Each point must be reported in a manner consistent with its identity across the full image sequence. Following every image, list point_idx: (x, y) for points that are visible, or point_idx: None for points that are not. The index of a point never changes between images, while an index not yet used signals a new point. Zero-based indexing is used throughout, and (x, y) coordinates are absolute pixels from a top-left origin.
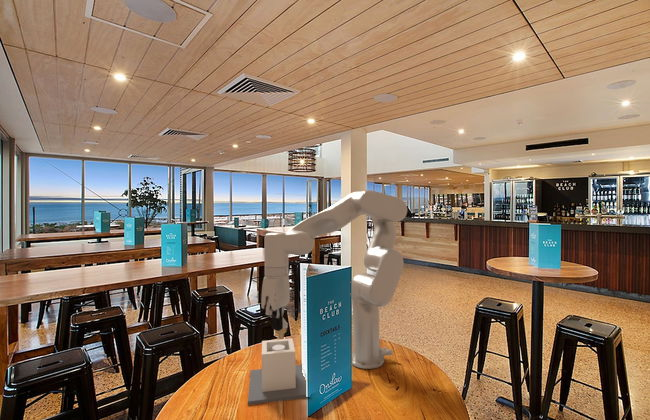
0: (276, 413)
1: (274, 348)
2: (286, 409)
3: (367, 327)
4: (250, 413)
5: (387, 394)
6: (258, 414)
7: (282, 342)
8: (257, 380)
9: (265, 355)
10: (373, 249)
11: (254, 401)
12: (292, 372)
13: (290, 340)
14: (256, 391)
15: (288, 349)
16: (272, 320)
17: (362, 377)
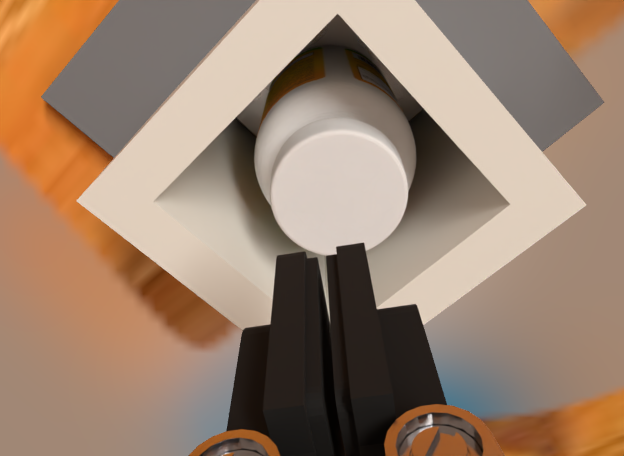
0: (116, 265)
1: (288, 185)
2: (170, 283)
3: None
4: (20, 160)
5: None
6: (47, 200)
7: (465, 150)
8: None
9: (113, 220)
10: None
11: (76, 124)
12: None
13: (521, 223)
14: (144, 61)
15: (474, 174)
16: (228, 422)
17: (604, 417)
